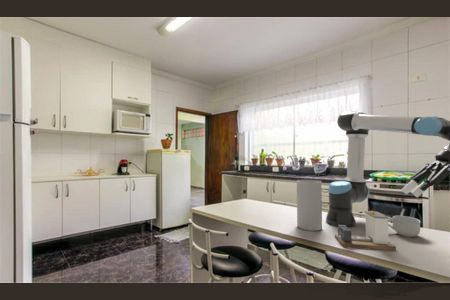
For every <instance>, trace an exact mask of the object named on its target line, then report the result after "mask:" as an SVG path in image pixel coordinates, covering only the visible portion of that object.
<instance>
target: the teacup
mask: <svg viewBox="0 0 450 300" xmlns="http://www.w3.org/2000/svg"><path fill="white" fill-rule="evenodd" d="M387 217H388V220H390V221H391V223H392V224H389V223H388V228H391V229H392V230H394V231H395V232H396V233H397V234H398V235H400V236H402V237H406V238H414V237H417V236H418V235H420V233H421V220H420V219H418V218H415V217H413V216H406V215H394V216H392V217H390V216H387Z"/></svg>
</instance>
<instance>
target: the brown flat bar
mask: <svg viewBox="0 0 450 300" xmlns="http://www.w3.org/2000/svg"><path fill="white" fill-rule="evenodd" d="M363 236H364V235H363ZM363 236H352V240H353V241H370V242H373V240H372V238H371V237H363ZM339 238H340V239H341V240H342V237H341V236H340V235H339ZM389 242H390V241H388V243H389Z"/></svg>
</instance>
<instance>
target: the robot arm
mask: <svg viewBox="0 0 450 300" xmlns="http://www.w3.org/2000/svg"><path fill="white" fill-rule="evenodd" d="M336 121H337V126H338V128H339V129H341V130H343V131H344V132H345V136H346V137H347V138H348V142H347V143H348V144H347V165H346V166H347V167H346V177H344V179H343V181H342V180H340V181H339V180H338V181H332V182H330V183H329V184H328V211H327V214H326V216H325V222H326V223H327V224H328V225H332V226H335V227H338V225H345V226H347V227H348V228H353V227H356V225H357V223H356V222H357V221H356V218H355V216H354V213H353V210H352V209H353V204H355V203H361V202H364V201H366V200H368V198H369V196H370V193H371V192H370V188H369V186H368V185H367V180H366V179H365V178H364V171H365V170H364V168H365V151H366V150H365V146H366V145H365V144H366V138H367V137H368V136H369V131H377V132H390V133H398V134H399V133H401V134H402V133H403V134H412V135H421V136H426V137H427V136H432V137H439V138H442V139H444V140H446V141H449V143H447V144H446V145H445V146H444V147H443V149H442V150H439V152H438V153H437V154H436V155H434V157H435V160H434V161H433V162H432V163H428V162H427V163H425V164H424V165H423V166H422V167H421V168H420V169H419V170H417V171H416V172H415V173H414V174H412V175H411V176H410V177H409V179H410V181H409V182H408V183H406V184H405V185H404V186H403V187H402V188H401V189H400V191H401V192H403V194H405V195H408V194H409V193H411V194H412V195H413V196H415V198H419V197H420V196H421V195H423V193H425V192H426V191H427V190H428V189H429V188H430V187H434V186H435V187H436V186H438V185H439V184H440V183H441V182H442V181H444V180H445V179H446V178H447V177H448V176H449V175H450V120H448V119H446V118H443V117H439V116H405V115H404V116H403V115H383V114H381V115H379V114H378V115H377V114H367V113H364V112H359V111H352V110H347V111H344V112H342V113H341V114H339V116H338V117H337V120H336ZM426 178H427V179H426ZM420 182H421V183H420ZM419 183H420V184H419Z"/></svg>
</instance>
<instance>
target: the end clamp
mask: <svg viewBox="0 0 450 300" xmlns="http://www.w3.org/2000/svg"><path fill="white" fill-rule="evenodd" d="M337 234H338V236H339V235H340V236H341V237H342V240H343V241H344V242H352V235H353V234H352V230H351V228H350V227H347V226H345V225H338V226H337Z"/></svg>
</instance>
